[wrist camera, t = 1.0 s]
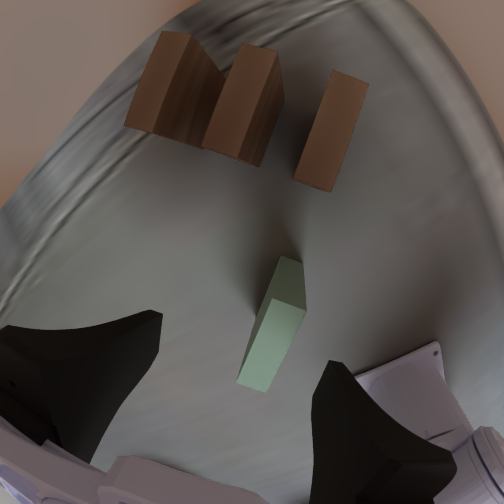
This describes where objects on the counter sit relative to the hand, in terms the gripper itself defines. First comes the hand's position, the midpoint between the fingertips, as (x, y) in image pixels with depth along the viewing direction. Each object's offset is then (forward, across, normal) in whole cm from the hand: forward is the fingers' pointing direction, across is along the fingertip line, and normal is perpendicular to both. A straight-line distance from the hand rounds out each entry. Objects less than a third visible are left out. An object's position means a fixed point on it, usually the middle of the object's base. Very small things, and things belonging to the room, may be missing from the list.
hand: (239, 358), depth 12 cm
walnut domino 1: (+10, +7, -11) cm, 16 cm away
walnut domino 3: (+10, -1, -10) cm, 14 cm away
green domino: (+10, -1, 0) cm, 10 cm away
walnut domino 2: (+10, +3, -10) cm, 14 cm away
